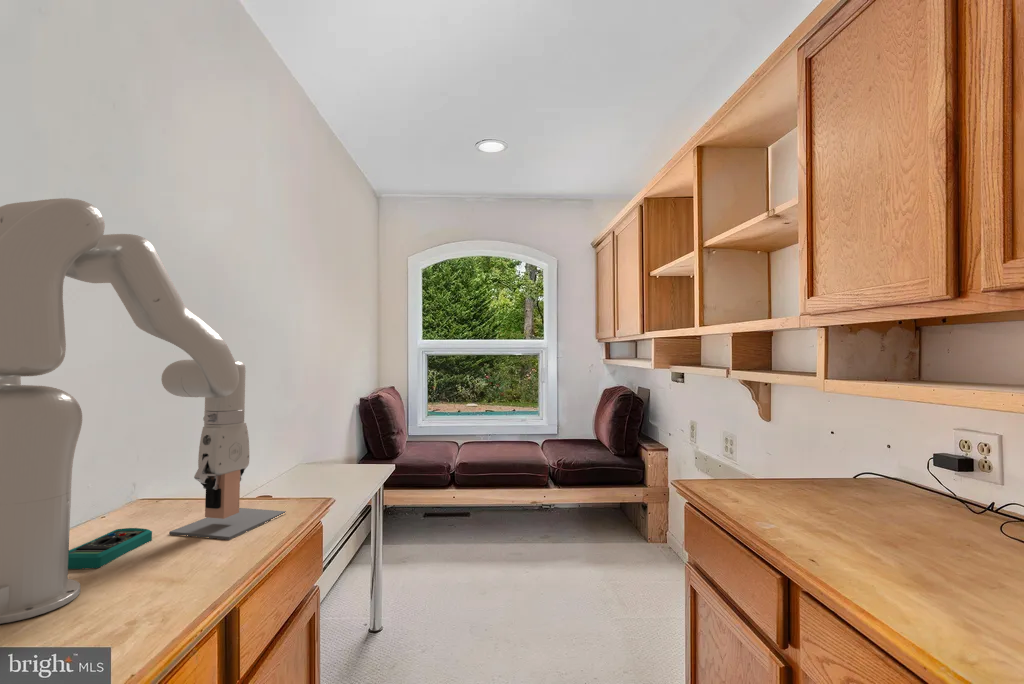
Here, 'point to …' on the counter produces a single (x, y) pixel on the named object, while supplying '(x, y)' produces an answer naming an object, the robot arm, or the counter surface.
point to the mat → (228, 524)
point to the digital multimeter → (107, 547)
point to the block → (227, 496)
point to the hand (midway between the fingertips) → (222, 503)
